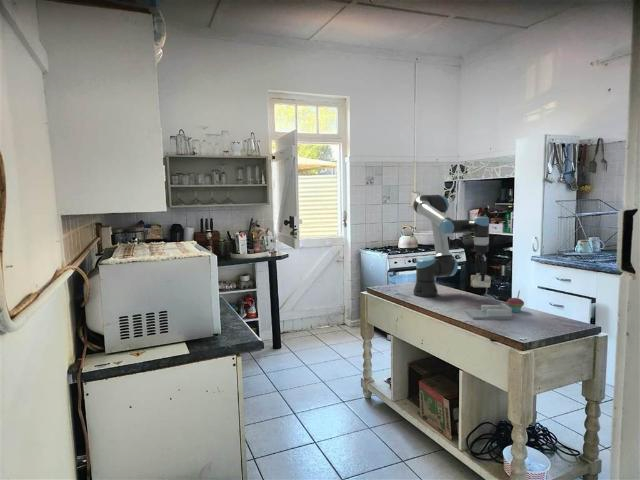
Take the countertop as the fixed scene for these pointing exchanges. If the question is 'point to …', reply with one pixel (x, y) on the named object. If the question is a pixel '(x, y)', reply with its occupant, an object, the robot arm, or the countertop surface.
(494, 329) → the countertop surface
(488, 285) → the panel block
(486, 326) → the countertop surface
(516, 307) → the cupcake
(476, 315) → the rail board
